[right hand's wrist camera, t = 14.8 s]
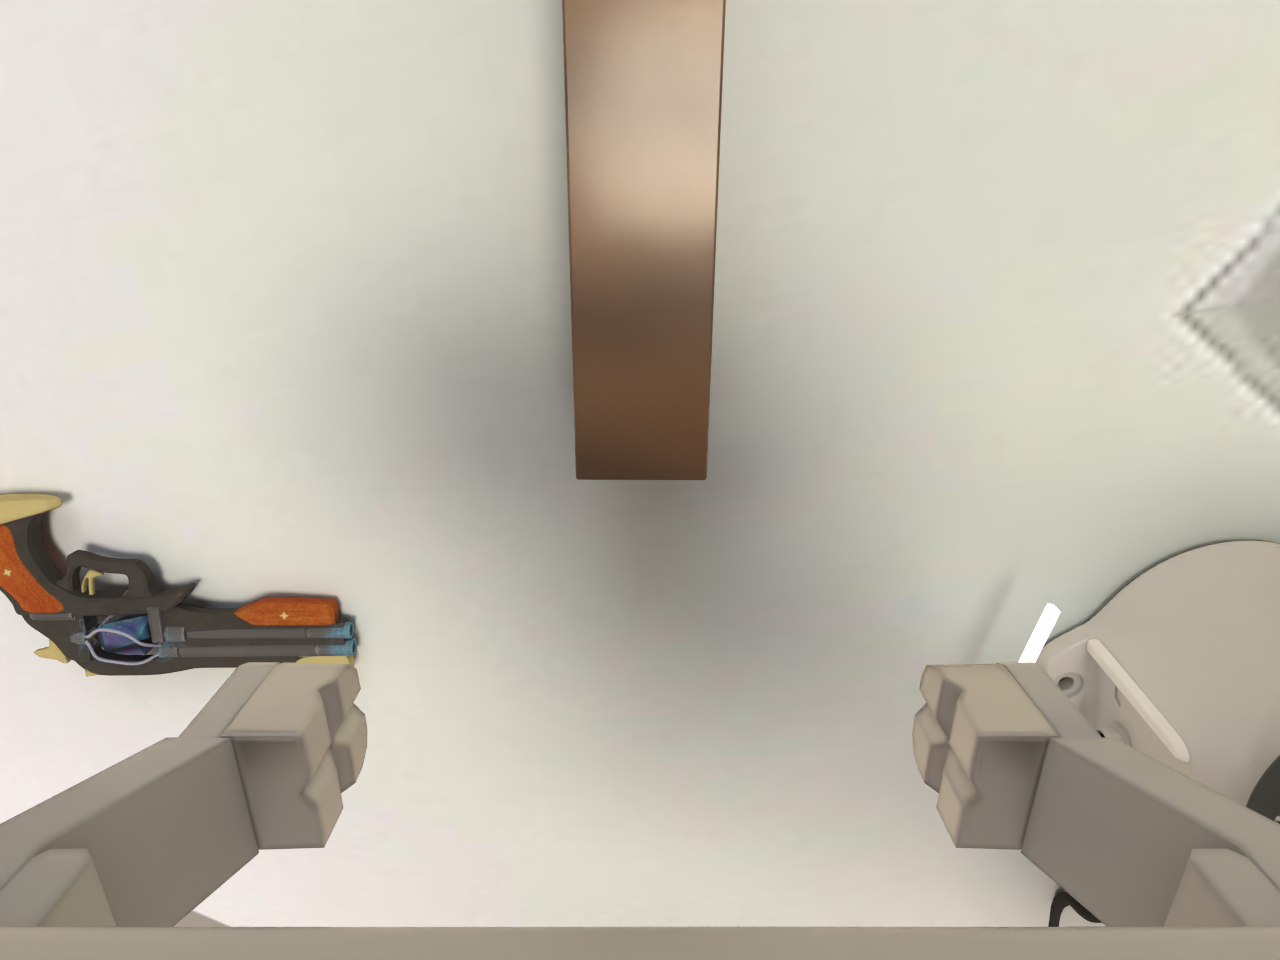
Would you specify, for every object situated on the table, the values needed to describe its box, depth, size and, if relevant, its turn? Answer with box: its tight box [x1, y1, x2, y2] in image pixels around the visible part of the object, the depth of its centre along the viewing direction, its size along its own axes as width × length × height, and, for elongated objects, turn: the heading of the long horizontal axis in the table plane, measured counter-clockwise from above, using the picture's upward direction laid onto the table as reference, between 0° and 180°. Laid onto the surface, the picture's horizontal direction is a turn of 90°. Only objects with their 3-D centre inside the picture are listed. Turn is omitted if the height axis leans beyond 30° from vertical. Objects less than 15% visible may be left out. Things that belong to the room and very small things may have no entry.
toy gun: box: [0, 494, 357, 676], centre depth 38 cm, size 3×19×10 cm
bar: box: [562, 0, 726, 480], centre depth 28 cm, size 24×5×9 cm, turn 0°
